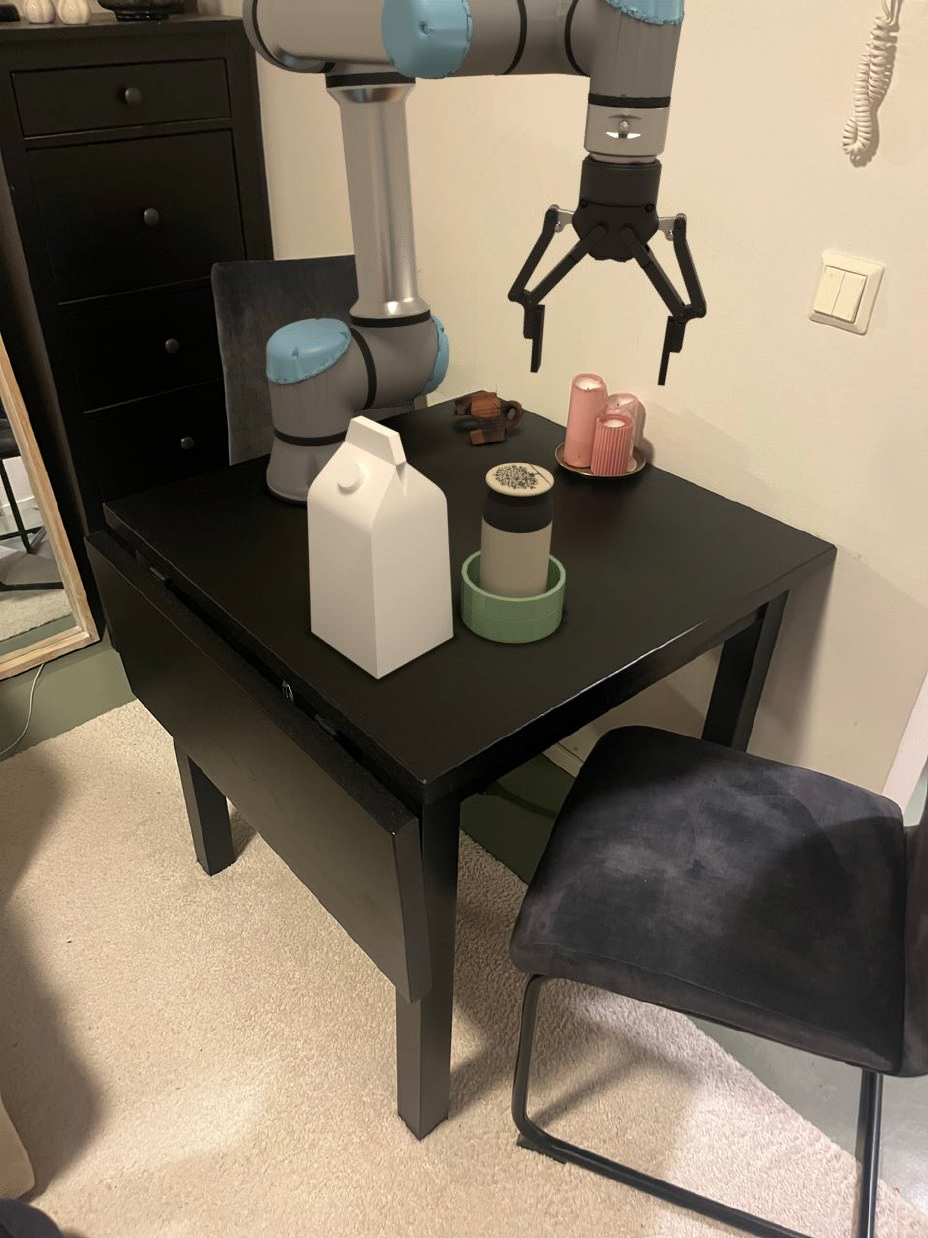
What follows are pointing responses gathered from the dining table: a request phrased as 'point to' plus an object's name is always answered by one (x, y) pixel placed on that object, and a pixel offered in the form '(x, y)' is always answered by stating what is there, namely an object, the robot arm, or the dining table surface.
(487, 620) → the pot
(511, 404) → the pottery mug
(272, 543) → the dining table surface
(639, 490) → the dining table surface
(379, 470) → the milk
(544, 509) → the travel mug
